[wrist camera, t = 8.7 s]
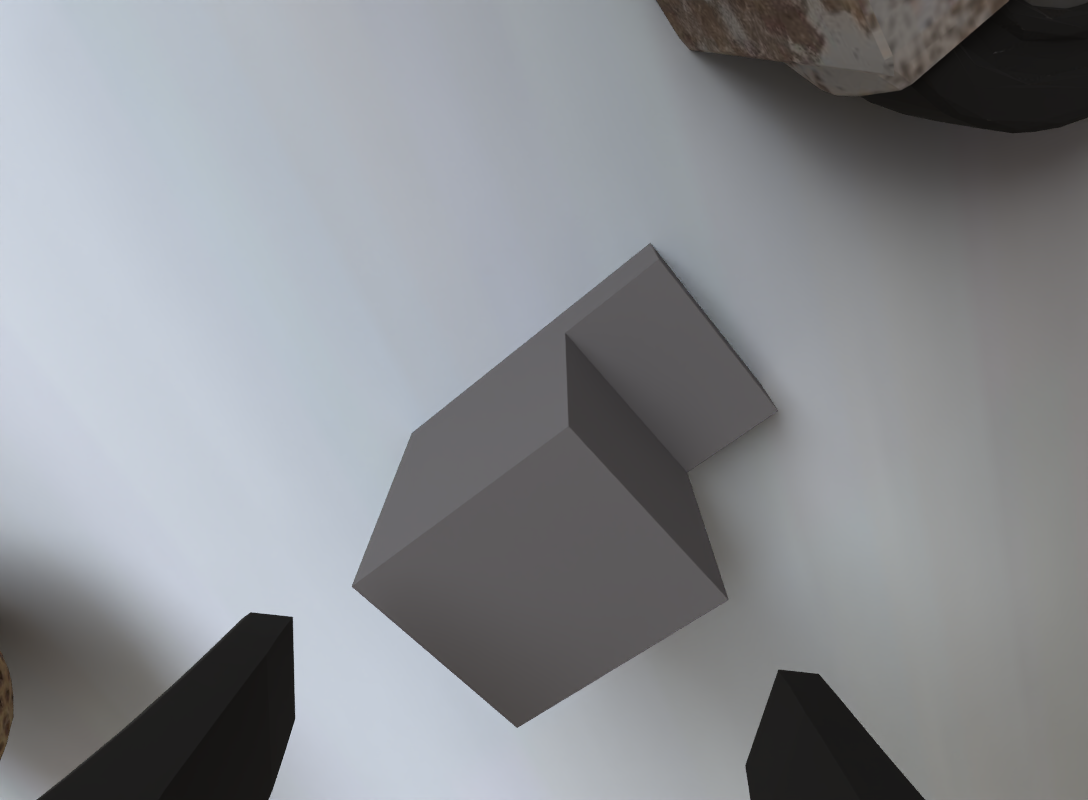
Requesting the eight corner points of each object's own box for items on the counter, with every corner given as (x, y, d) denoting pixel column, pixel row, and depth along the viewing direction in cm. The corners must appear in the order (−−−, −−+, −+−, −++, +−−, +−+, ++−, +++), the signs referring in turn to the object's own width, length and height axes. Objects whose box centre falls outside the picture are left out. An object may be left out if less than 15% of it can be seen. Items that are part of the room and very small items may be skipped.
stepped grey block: (761, 384, 18) (851, 524, 12) (527, 546, 20) (517, 728, 14) (650, 242, 16) (697, 330, 11) (411, 433, 18) (351, 585, 13)
